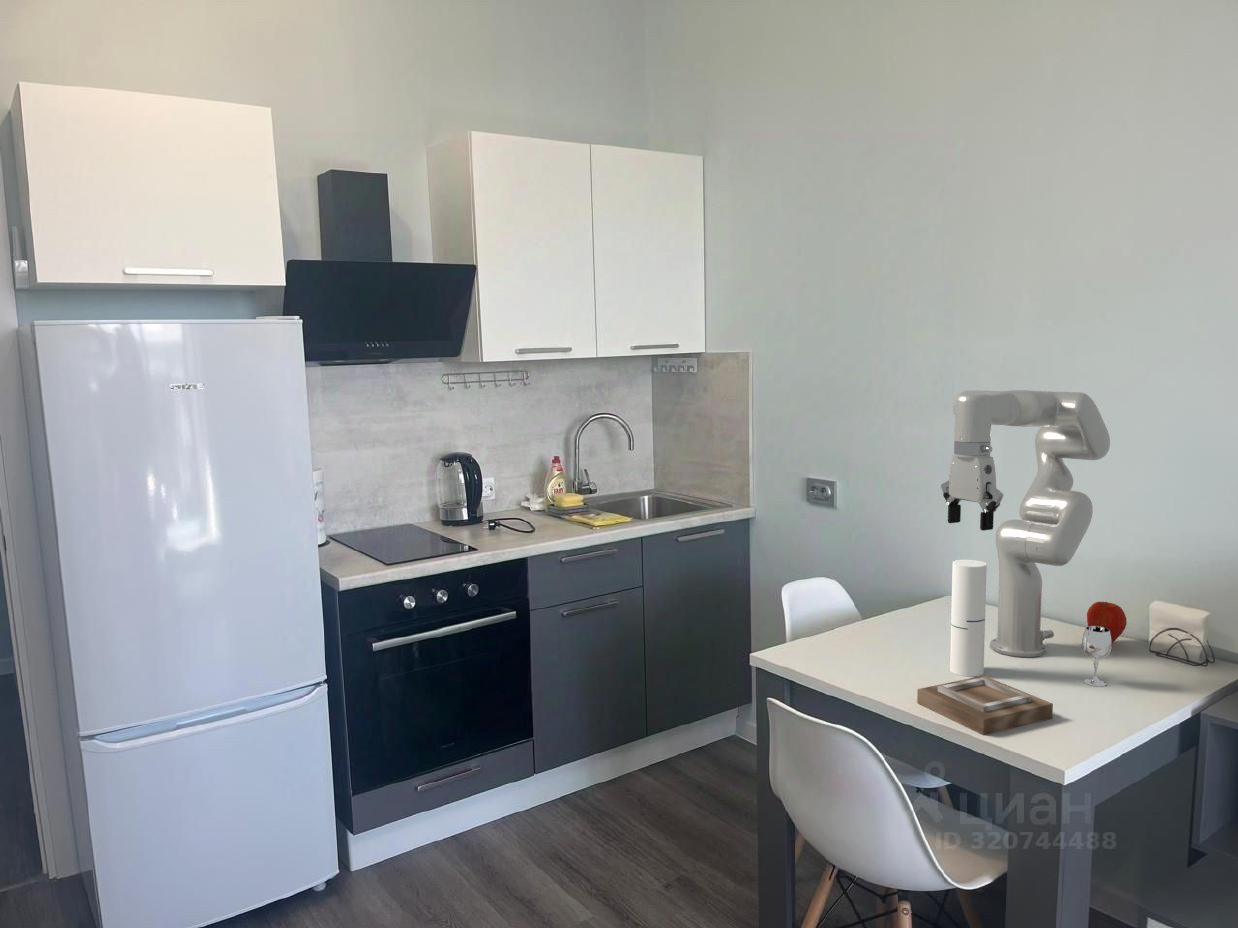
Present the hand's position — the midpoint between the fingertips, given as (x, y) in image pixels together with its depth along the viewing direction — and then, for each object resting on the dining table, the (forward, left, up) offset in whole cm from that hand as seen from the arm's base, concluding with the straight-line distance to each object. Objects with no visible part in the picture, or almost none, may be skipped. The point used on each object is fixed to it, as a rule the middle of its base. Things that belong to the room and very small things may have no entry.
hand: (969, 526), depth 208 cm
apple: (-43, +1, -34) cm, 55 cm away
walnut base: (+14, +19, -33) cm, 41 cm away
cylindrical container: (0, 0, -34) cm, 34 cm away
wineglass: (-19, +18, -34) cm, 43 cm away
